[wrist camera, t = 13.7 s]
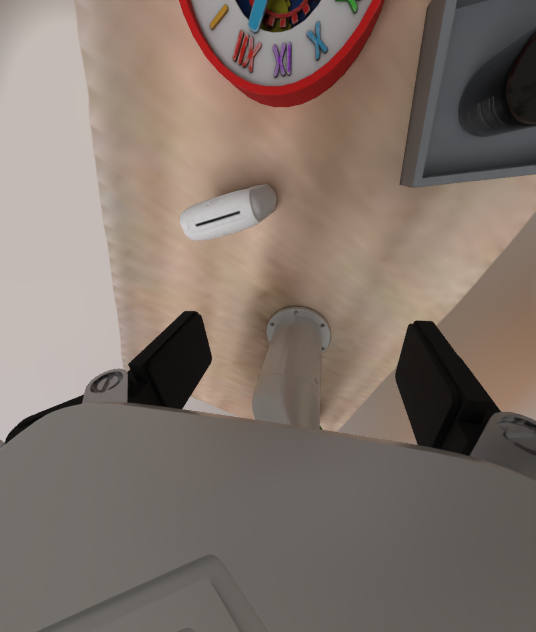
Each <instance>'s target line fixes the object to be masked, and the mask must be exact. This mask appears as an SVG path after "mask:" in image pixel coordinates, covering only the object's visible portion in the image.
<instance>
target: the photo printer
mask: <svg viewBox="0 0 536 632" xmlns="http://www.w3.org/2000/svg"><path fill="white" fill-rule="evenodd" d="M276 202H277V198H276V194H275V192H274V190H273V189H272V188H271V187H270V185H269V184H262V185H257V186H253V187H250V188H246V189H242V190H238V191H234V192H230V193H227V194H224V195H220V196H217V197H214V198H211V199H208V200H205V201H203V202H200V203H197V204H195V205H193V206H191V207H189V208H187V209H186V210H185V211H184V212H182V214H181V216H180V225H181V226H182V228H183V230H184V233H185V235H186V236H187V237H188V238H189V239H191V240H197V241H201V240H208V239H213V238H217V237H221V236H225V235H228V234H232V233H235V232H238V231H242V230H244V229H247V228H250V227H252V226H255V225H256V224H258V223H260V222H261V221H262V220H264V219H265V218H266V217H268V216H269V215H270V214H271V213H273V212H274V211H275V206H276Z"/></svg>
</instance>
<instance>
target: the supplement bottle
mask: <svg viewBox="0 0 536 632" xmlns="http://www.w3.org/2000/svg"><path fill="white" fill-rule="evenodd" d="M459 115H460V121H461V124H462V126H463V128H464V129H465V130H466V131H467V132H468V133H469V134H471V135H473V136H477V137H489V136H495V135H499V134H504V133H508V132H513V131H517V130H522V129H526V128H531V127H535V126H536V27H535V28H533V29H532V30H531V31H529V32H528V33H526V34H525V35H523V36H522V37H521V38H519V39H518V40H516V41H515V42H513V43H512V44H511V45H509V46H508V47H506V48H505V49H503V50H502V51H501V52H499V53H498V54H496V55H495V56H494V57H492V58H491V59H490V60H489V61H487V62H486V63H485V64H484V65H483V66H482V67H481V68H480V69H479V70H478V71H477V72H476V74H475V75H474V76H473V78H472V79H471V81H470V82H469V84H468V86H467V87H466V89H465V91H464V94H463V96H462V100H461V103H460V110H459Z"/></svg>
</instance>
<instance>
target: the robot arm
mask: <svg viewBox="0 0 536 632" xmlns="http://www.w3.org/2000/svg"><path fill="white" fill-rule="evenodd" d="M266 334H267V339H268V341H269V343H270V344H269V347H268V350H267V353H266V356H265V359H264V362H263V365H262V368H261V371H260V374H259V377H258V380H257V384H256V386H255V390H254V393H253V398H252V407H253V413H254V417H255V420H253V419H246V418H239V417H232V416H226V415H219V414H211V413H205V412H198V411H190V410H183V409H182V408H183V407H184V405H185V404H186V402H187V401H188V399H189V397H190V396H191V394H192V393H193V391H194V389H195V388H196V386H197V385H198V383H199V381H200V380H201V378H202V377H203V375H204V373H205V372H206V370H207V368H208V367H209V365H210V364H211V361H212V355H211V351H210V347H209V343H208V339H207V335H206V331H205V328H204V324H203V320H202V316H201V315H200V314H198V312H196V311H184V312H183V313H182V314H181V315H180V316H179V317H178V318H177V319H176V320H175V321H174V322H172V323H171V324H170V325H169V326H168V327H167V328H166V329H165V330H164V331H163V332H162V333H161V334H160V335H159V336H158V337H157V338H155V339H154V340H153V341H152V342H151V343H150V344H149V345H148V346H147V347H146V348H145V349H144V350H143V351H142V352H141V353H140V354H139V355H137V356H136V357H135V358H134V359H133V360H132V361H131V362H130V363H129V364H128V365H129V367H130V370H129V371H128V372H127V371H125V370H124V369H113V370H109V371H107V372H104V373H102V374H100V375H99V376H97V377H95V378H94V379H93V380H92V381H91V382H90V383H89V384H88V385H87V387H86V389H85V393H84V395H82V396H79V397H77V398H75V399H72V400H69V401H67V402H64V403H62V404H59V405H57V406H54V407H52V408H49V409H47V410H45V411H42V412H39V413H37V414H35V415H32V416H30V417H27V418H26V419H24V420H23V421H22V422H20V423H19V424H18V425H17V426H16V427H15V428H14V429H13V430H12V431H11V432H10V433H9V434H8V436H7V438H6V441H5V442H2V440H0V632H536V421H535V420H533V419H531V418H528V417H525V416H523V415H520V414H516V413H512V412H501V411H500V410H499V408H498V407H497V406H496V405H495V403H494V402H493V400H492V399H491V398H490V396H489V395H488V394H487V392H486V391H485V390H484V388H483V387H482V386H481V384H480V383H479V382H478V380H477V379H476V378H475V376H474V375H473V373H472V372H471V371H470V369H469V368H468V367H467V366H466V364H465V363H464V361H463V360H462V359H461V358H460V357H459V356H458V355H457V354H456V352H455V351H454V349H453V348H452V347H451V345H450V344H449V343H448V341H447V340H446V339H445V337H444V336H443V335H442V333H441V332H440V331H439V329H438V328H437V326H436V325H435V324H434V323H433V322H432V321H414V323H413V324H409V325H408V328H407V332H406V336H405V339H404V343H403V347H402V351H401V354H400V358H399V362H398V365H397V369H396V374H395V378H396V382H397V385H398V388H399V391H400V394H401V397H402V400H403V403H404V406H405V409H406V412H407V415H408V417H409V420H410V423H411V426H412V429H413V432H414V435H415V438H416V441H417V444H418V445H414V444H408V443H402V442H396V441H390V440H384V439H378V438H372V437H366V436H360V435H353V434H346V433H339V432H333V431H327V430H320V390H321V361H322V353H323V352H324V351H325V350H326V349H327V348H328V346H329V343H330V339H331V332H330V327H329V325H328V323H327V321H326V320H325V319H324V318H323V317H322V316H321V315H320V314H319V313H317V312H315V311H314V310H311V309H309V308H305V307H297V306H294V307H287V308H284V309H282V310H280V311H278V312H276V313H275V314H274V315H273V316H272V317H271V319H270V321H269V323H268V326H267V331H266Z"/></svg>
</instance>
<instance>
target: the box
mask: <svg viewBox="0 0 536 632" xmlns="http://www.w3.org/2000/svg"><path fill="white" fill-rule="evenodd" d="M535 27H536V0H432V1H431V3H430V4H429V6H428V8H427V12H426V18H425V25H424V31H423V38H422V44H421V51H420V57H419V64H418V70H417V77H416V83H415V89H414V96H413V102H412V109H411V115H410V122H409V128H408V135H407V141H406V148H405V154H404V161H403V167H402V173H401V180H400V185H404V186H408V187H412V188H413V187H422V186H432V185H441V184H450V183H459V182H468V181H478V180H487V179H496V178H505V177H514V176H524V175H533V174H536V126H535V127H531V128H526V129H522V130H517V131H513V132H508V133H504V134H499V135H495V136H489V137H477V136H473V135H471V134H469V133H468V132H467V131H466V130H465V129H464V128H463V126H462V124H461V121H460V115H459V110H460V103H461V100H462V96H463V94H464V91H465V89H466V87H467V86H468V84H469V82H470V81H471V79H472V78H473V76H474V75H475V74H476V72H477V71H478V70H479V69H480V68H481V67H482V66H483V65H484V64H485V63H486V62H487V61H489V60H490V59H491V58H492V57H494V56H495V55H496V54H498V53H499V52H501V51H502V50H503V49H505V48H506V47H508V46H509V45H511V44H512V43H513V42H515V41H516V40H518V39H519V38H521V37H522V36H523V35H525V34H526V33H528V32H529V31H531V30H532V29H533V28H535Z"/></svg>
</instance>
